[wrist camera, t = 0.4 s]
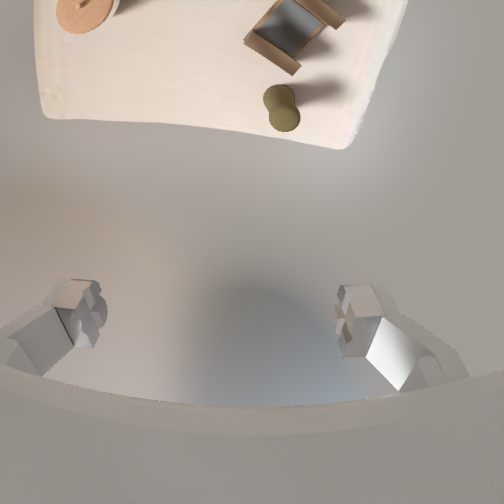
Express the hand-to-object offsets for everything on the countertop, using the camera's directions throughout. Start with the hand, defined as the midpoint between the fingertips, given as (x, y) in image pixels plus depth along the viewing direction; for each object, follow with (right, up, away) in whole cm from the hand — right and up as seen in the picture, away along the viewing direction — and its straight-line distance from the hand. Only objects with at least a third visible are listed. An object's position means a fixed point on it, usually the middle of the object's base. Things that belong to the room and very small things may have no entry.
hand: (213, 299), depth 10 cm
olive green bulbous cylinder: (+6, +31, +42) cm, 52 cm away
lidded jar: (-25, +46, +23) cm, 57 cm away
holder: (+8, +41, +30) cm, 51 cm away
